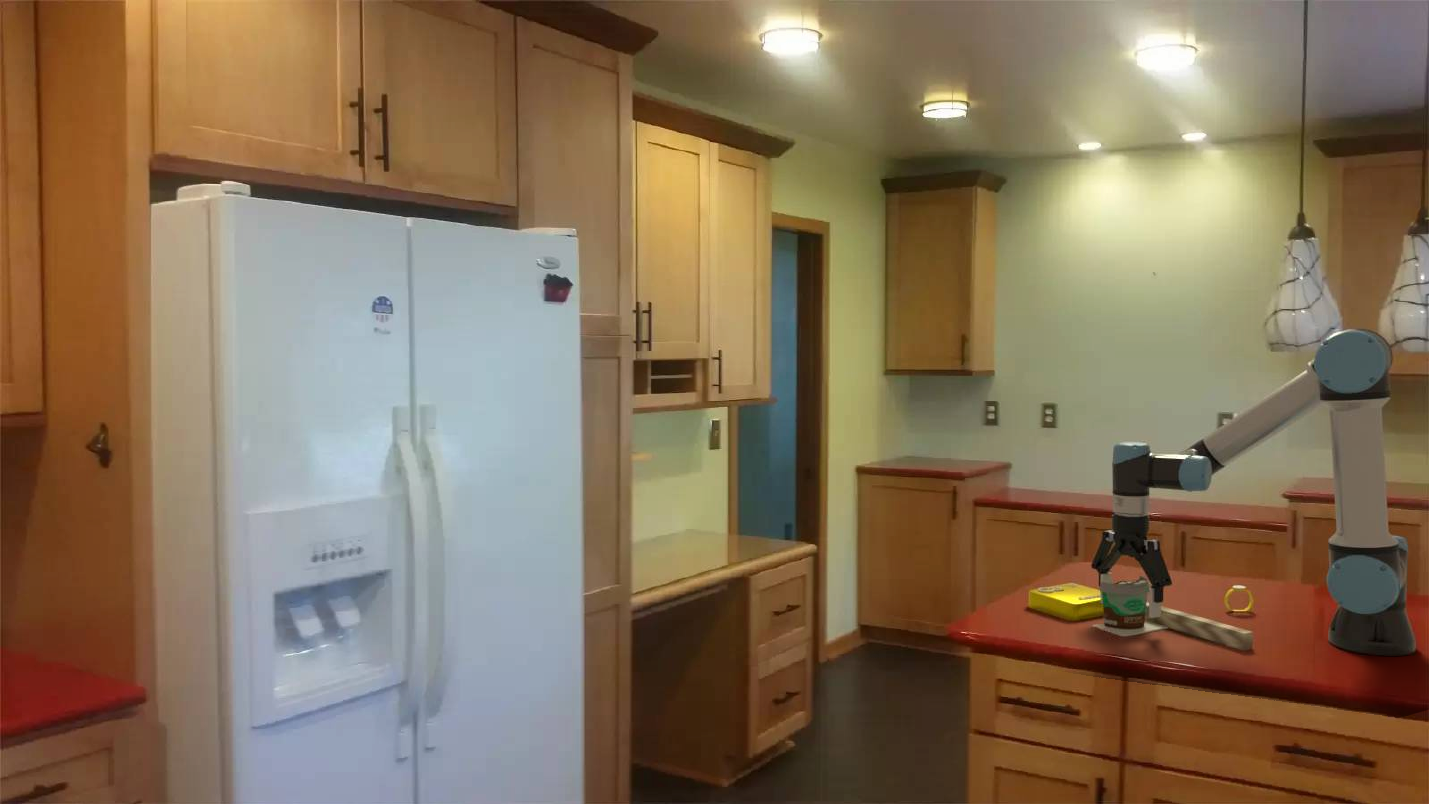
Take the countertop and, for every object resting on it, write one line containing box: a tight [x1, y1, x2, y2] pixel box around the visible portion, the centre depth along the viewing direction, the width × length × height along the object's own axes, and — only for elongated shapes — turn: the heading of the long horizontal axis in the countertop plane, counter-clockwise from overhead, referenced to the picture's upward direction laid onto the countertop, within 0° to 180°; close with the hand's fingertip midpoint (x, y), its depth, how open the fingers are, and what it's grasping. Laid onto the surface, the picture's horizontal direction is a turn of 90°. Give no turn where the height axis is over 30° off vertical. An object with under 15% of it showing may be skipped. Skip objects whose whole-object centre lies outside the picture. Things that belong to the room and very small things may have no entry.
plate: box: [1091, 620, 1169, 638], centre depth 233 cm, size 9×13×1 cm
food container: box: [1099, 575, 1151, 629], centre depth 233 cm, size 12×6×10 cm, turn 114°
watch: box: [1224, 584, 1255, 612], centre depth 244 cm, size 6×3×6 cm, turn 84°
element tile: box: [1028, 582, 1104, 621], centre depth 249 cm, size 15×15×5 cm
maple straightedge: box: [1145, 601, 1254, 652], centre depth 229 cm, size 30×3×4 cm, turn 26°
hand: (1129, 609), depth 233 cm, fingers open, 13 cm apart
